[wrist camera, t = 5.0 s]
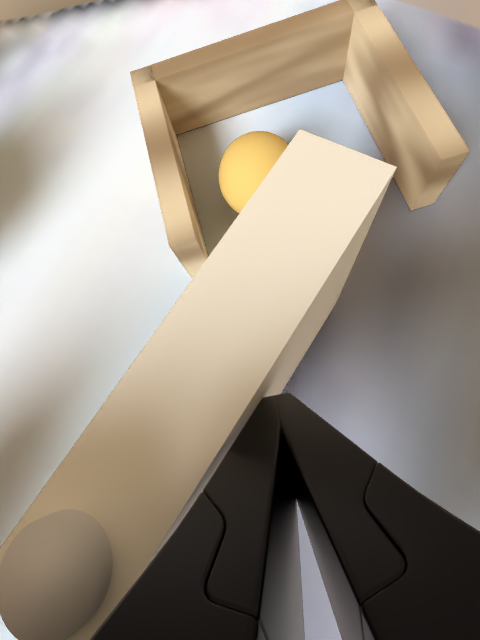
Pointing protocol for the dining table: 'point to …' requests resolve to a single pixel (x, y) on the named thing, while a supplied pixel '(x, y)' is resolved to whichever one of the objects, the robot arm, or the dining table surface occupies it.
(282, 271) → the lever
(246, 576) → the robot arm
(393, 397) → the dining table surface
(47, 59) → the dining table surface
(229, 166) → the ball
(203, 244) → the tray
